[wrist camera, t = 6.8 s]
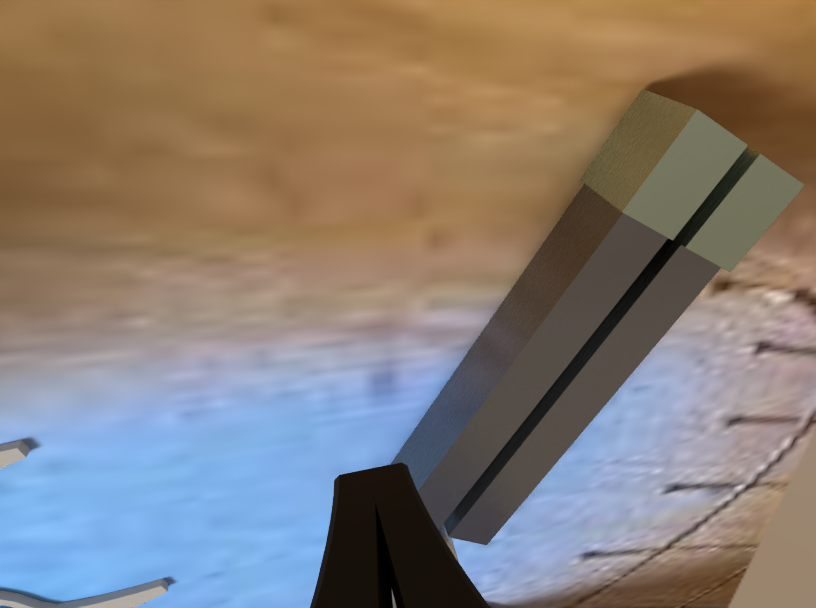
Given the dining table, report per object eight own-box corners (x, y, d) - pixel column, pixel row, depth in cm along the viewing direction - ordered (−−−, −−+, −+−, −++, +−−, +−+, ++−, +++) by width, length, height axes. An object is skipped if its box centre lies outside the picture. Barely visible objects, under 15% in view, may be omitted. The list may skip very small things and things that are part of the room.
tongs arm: (689, 121, 17) (748, 144, 15) (422, 484, 23) (436, 538, 21) (642, 88, 16) (697, 109, 14) (379, 473, 23) (389, 528, 20)
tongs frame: (736, 154, 18) (830, 196, 15) (426, 549, 26) (445, 632, 23) (646, 94, 17) (731, 126, 14) (345, 533, 25) (354, 619, 21)
